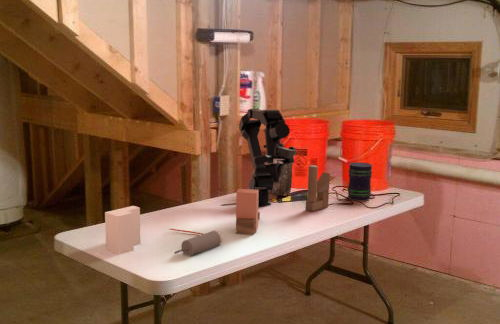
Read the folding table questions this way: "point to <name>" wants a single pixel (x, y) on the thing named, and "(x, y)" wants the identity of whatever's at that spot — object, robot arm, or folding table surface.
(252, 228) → the rail
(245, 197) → the block
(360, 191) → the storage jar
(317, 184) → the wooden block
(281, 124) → the robot arm
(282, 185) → the stone block
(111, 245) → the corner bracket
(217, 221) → the folding table surface
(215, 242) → the motor
